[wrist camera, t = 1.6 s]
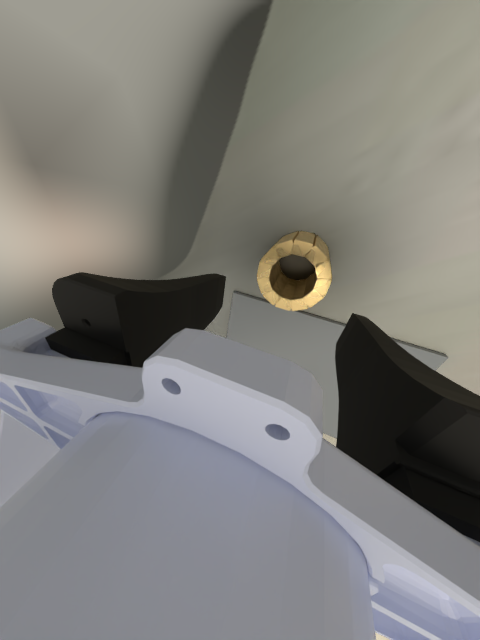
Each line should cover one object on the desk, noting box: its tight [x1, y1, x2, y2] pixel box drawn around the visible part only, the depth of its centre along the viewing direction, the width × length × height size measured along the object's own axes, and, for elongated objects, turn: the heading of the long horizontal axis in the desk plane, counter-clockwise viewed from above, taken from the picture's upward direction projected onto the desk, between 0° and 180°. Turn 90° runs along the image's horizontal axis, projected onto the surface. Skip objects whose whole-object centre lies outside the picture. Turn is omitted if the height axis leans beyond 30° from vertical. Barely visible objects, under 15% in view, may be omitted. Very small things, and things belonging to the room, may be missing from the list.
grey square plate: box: [226, 291, 448, 439], centre depth 24 cm, size 22×18×6 cm
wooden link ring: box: [257, 231, 332, 311], centre depth 18 cm, size 6×6×5 cm
